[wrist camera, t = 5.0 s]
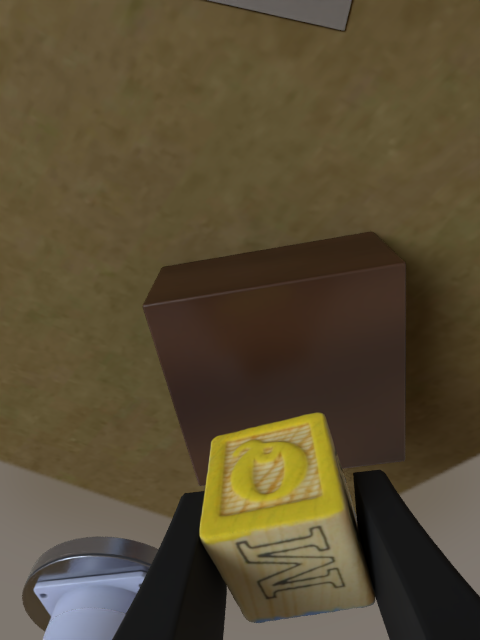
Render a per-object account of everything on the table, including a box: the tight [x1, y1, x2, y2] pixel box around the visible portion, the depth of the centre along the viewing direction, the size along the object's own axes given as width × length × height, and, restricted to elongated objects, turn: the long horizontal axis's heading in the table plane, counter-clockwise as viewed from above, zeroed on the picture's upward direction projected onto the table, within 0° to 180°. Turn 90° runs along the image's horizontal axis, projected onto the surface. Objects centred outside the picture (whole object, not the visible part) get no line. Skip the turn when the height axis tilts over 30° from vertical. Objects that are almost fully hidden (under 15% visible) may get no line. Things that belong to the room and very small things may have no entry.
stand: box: [143, 232, 406, 486], centre depth 16 cm, size 8×8×4 cm
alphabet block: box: [200, 412, 375, 623], centre depth 10 cm, size 3×3×3 cm
